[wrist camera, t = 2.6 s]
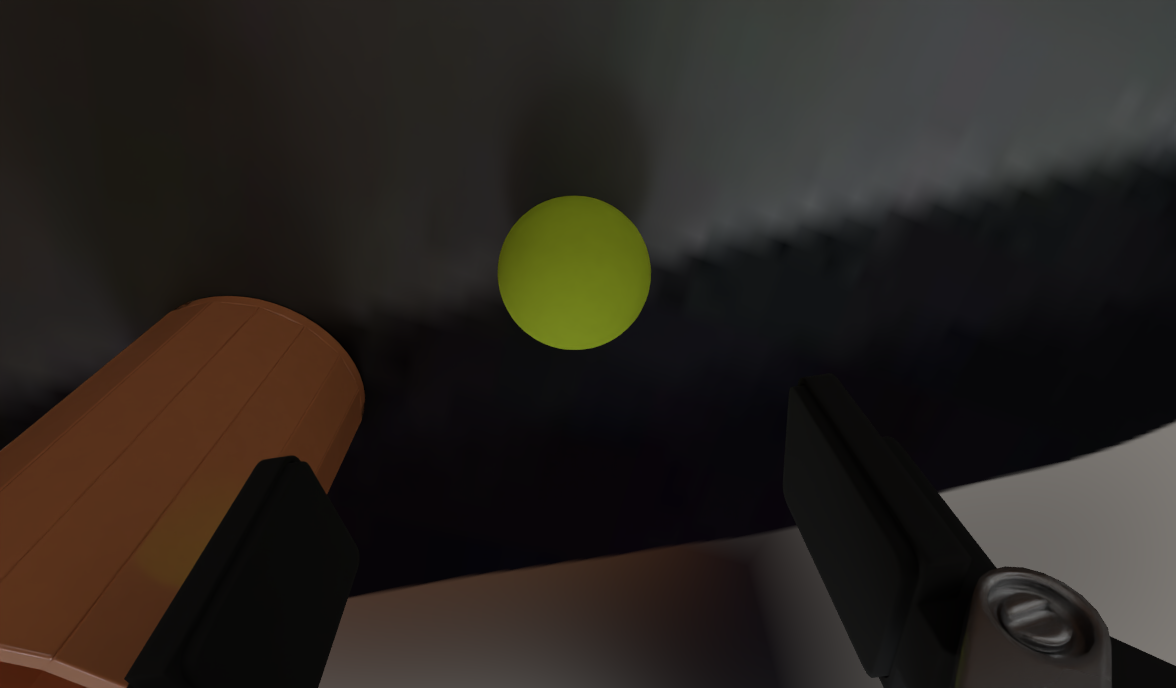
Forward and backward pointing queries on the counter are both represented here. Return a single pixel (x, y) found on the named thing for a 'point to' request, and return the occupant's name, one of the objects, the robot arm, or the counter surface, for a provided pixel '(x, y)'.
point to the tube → (154, 478)
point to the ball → (574, 272)
